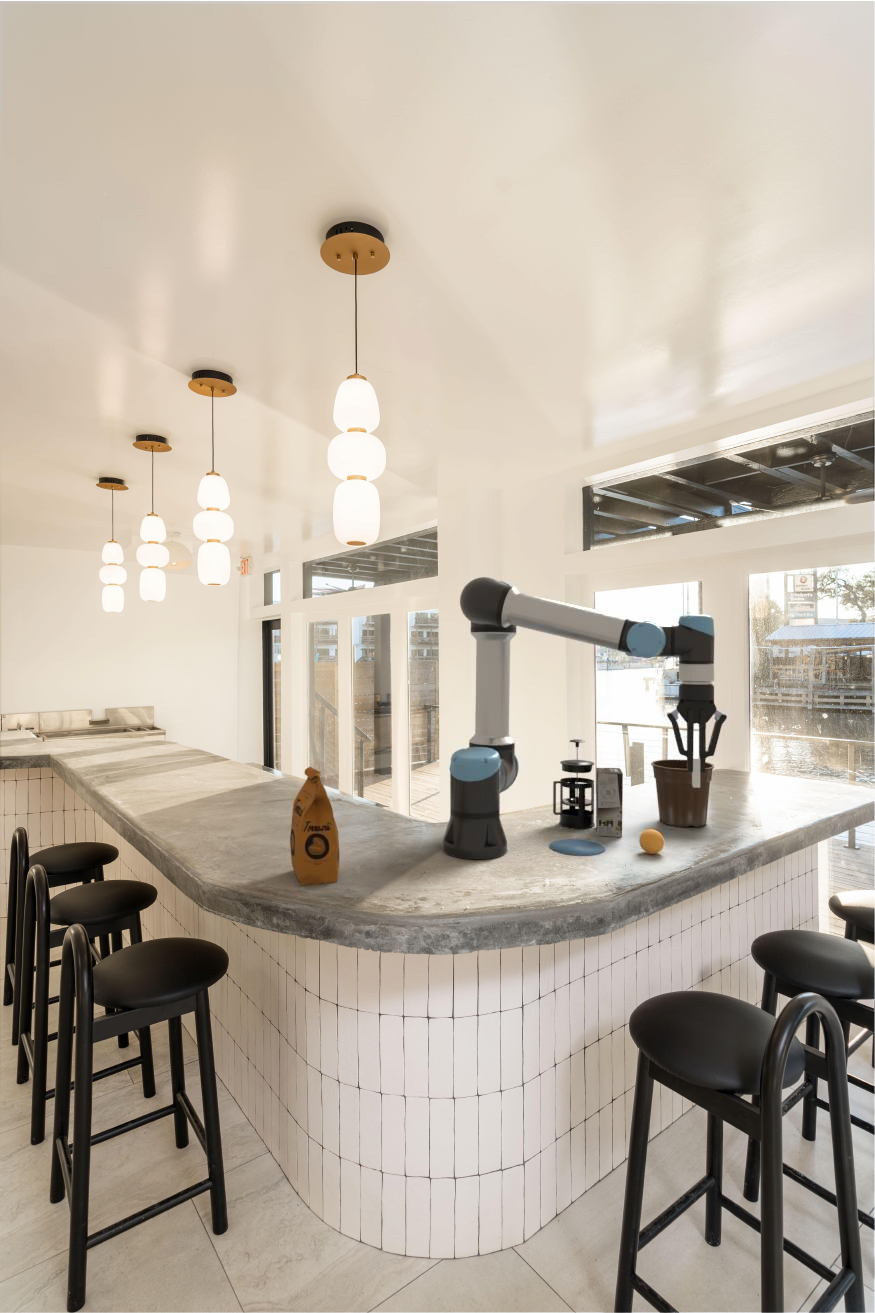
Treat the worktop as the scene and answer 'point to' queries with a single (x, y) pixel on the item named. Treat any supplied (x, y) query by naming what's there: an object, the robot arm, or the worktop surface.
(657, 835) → the ball
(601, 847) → the disc
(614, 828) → the coffee box
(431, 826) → the worktop surface
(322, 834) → the coffee package
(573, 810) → the french press
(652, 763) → the plant pot
